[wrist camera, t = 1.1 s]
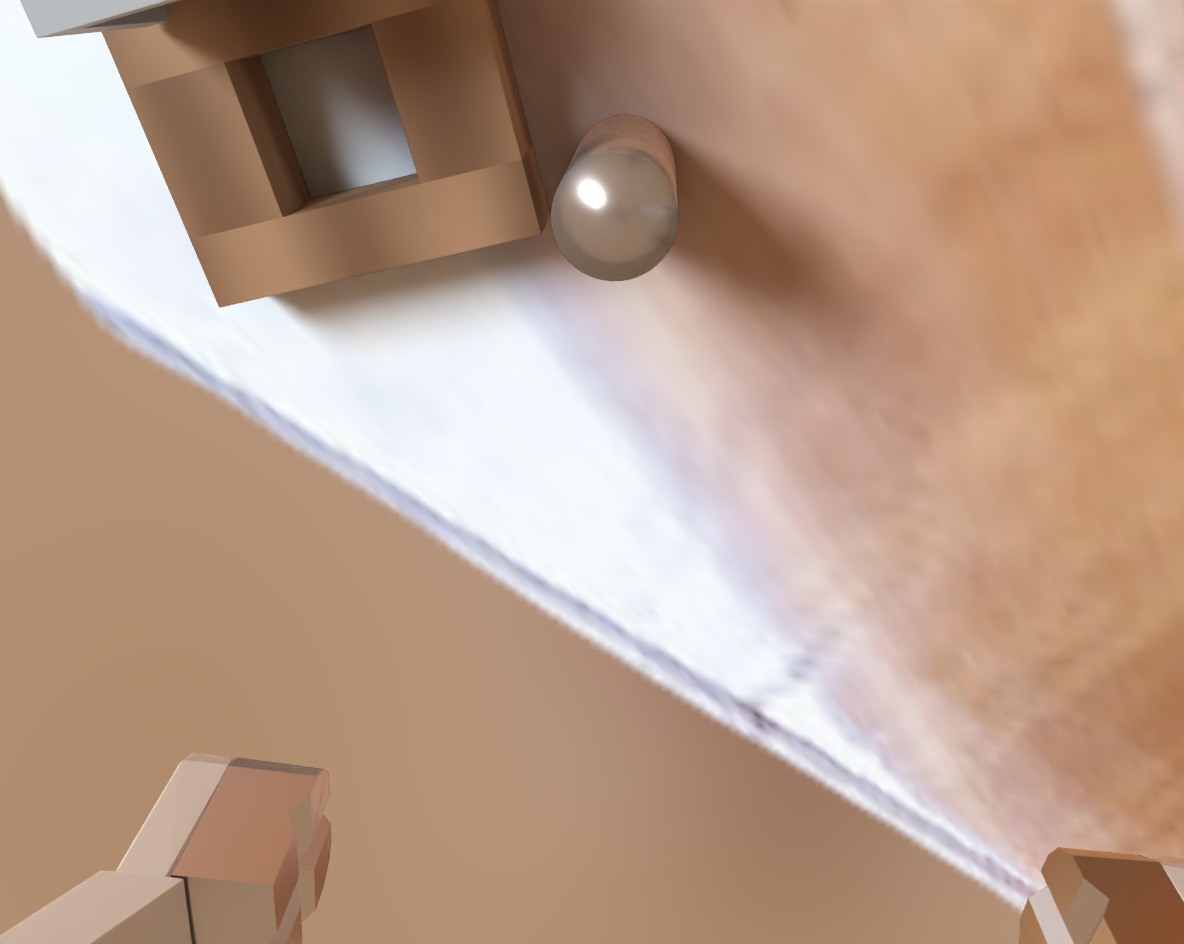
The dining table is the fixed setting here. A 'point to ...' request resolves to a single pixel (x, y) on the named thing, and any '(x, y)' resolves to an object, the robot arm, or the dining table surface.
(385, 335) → the dining table surface
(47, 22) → the housing cap
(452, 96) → the socket block
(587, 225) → the stub peg
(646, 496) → the dining table surface
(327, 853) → the robot arm
